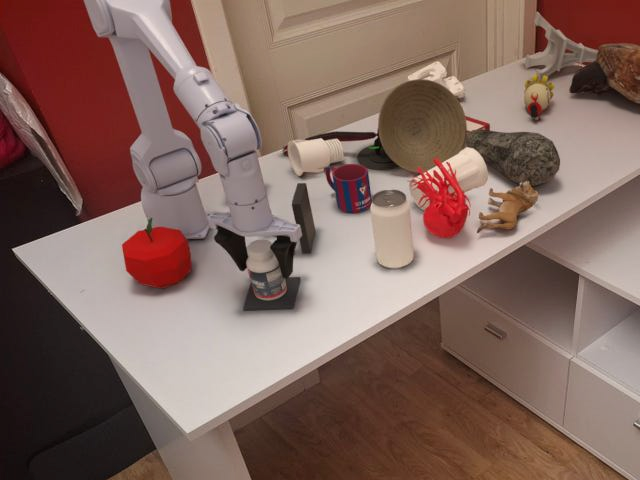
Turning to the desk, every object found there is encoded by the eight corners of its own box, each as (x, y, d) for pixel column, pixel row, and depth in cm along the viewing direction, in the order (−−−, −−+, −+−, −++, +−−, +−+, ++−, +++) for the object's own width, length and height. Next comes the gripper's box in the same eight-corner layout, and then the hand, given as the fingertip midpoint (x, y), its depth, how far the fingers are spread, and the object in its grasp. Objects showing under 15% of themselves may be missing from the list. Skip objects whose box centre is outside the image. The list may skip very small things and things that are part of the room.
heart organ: (428, 251, 121) (440, 186, 114) (400, 219, 129) (410, 157, 122) (477, 248, 126) (491, 185, 119) (447, 218, 134) (459, 158, 127)
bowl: (370, 83, 144) (377, 74, 137) (455, 89, 150) (467, 81, 142) (372, 175, 147) (379, 171, 140) (456, 178, 153) (467, 174, 145)
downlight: (299, 185, 144) (343, 175, 148) (303, 163, 138) (349, 154, 142) (283, 154, 145) (327, 145, 150) (287, 131, 139) (333, 123, 144)
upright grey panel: (260, 255, 123) (247, 205, 116) (267, 233, 128) (255, 184, 121) (310, 253, 123) (300, 203, 116) (315, 231, 128) (306, 182, 121)
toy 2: (548, 95, 155) (555, 67, 165) (516, 96, 156) (525, 68, 167) (549, 126, 160) (556, 97, 170) (518, 126, 161) (527, 97, 172)
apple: (191, 293, 115) (172, 242, 108) (125, 297, 114) (102, 246, 107) (204, 256, 123) (187, 207, 116) (142, 260, 122) (121, 210, 115)
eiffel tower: (524, 64, 187) (625, 78, 195) (537, 83, 177) (643, 97, 185) (536, 11, 178) (641, 28, 186) (550, 28, 168) (661, 45, 177)
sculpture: (583, 133, 175) (666, 129, 157) (561, 68, 166) (646, 55, 148) (622, 101, 182) (705, 94, 163) (602, 36, 173) (689, 21, 154)
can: (385, 273, 119) (377, 212, 110) (371, 254, 123) (363, 193, 115) (419, 263, 121) (415, 202, 113) (405, 244, 125) (399, 184, 117)
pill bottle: (248, 292, 114) (234, 247, 108) (274, 278, 117) (262, 233, 111) (267, 305, 112) (255, 260, 106) (293, 290, 115) (283, 245, 109)
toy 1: (288, 169, 151) (284, 148, 151) (380, 138, 146) (375, 116, 147) (282, 165, 148) (278, 144, 149) (376, 133, 144) (371, 111, 145)
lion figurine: (496, 168, 131) (542, 180, 131) (493, 190, 136) (538, 201, 135) (474, 221, 123) (524, 234, 123) (472, 242, 128) (520, 255, 127)
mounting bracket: (457, 70, 164) (417, 91, 165) (467, 95, 168) (427, 115, 169) (445, 56, 173) (406, 76, 174) (455, 80, 177) (417, 99, 178)
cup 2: (420, 174, 126) (480, 145, 133) (399, 175, 133) (456, 147, 139) (436, 216, 130) (493, 185, 136) (414, 215, 136) (470, 186, 142)
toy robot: (376, 175, 143) (369, 118, 135) (346, 153, 150) (338, 99, 142) (424, 157, 148) (420, 102, 140) (393, 137, 155) (388, 84, 147)
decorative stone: (484, 151, 151) (456, 173, 146) (480, 108, 144) (450, 130, 139) (570, 178, 141) (542, 203, 136) (570, 133, 134) (540, 158, 129)
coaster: (243, 310, 112) (242, 308, 111) (252, 280, 118) (252, 278, 117) (293, 309, 112) (293, 306, 112) (300, 279, 118) (300, 276, 117)
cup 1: (352, 217, 132) (347, 184, 127) (319, 198, 137) (314, 166, 132) (379, 203, 135) (375, 171, 131) (346, 186, 140) (341, 154, 136)
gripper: (303, 188, 104) (318, 263, 113) (216, 176, 106) (238, 250, 116) (281, 213, 99) (299, 289, 108) (191, 199, 101) (215, 275, 111)
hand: (266, 271), depth 111 cm, fingers open, 7 cm apart
